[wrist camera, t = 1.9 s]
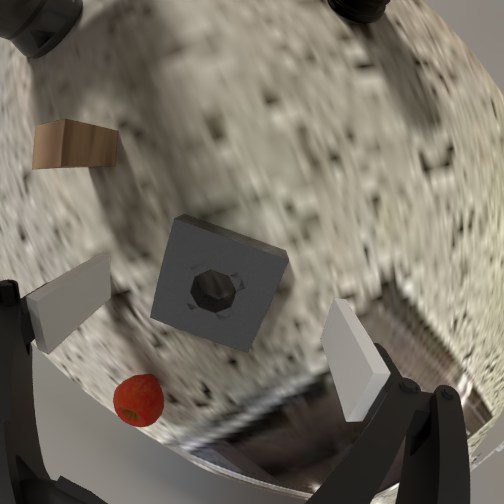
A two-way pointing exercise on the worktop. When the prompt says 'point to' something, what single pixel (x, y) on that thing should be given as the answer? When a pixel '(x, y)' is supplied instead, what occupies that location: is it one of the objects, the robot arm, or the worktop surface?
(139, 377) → the apple
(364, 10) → the container
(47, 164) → the square bit
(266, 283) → the holder plate
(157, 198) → the worktop surface
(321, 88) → the worktop surface
